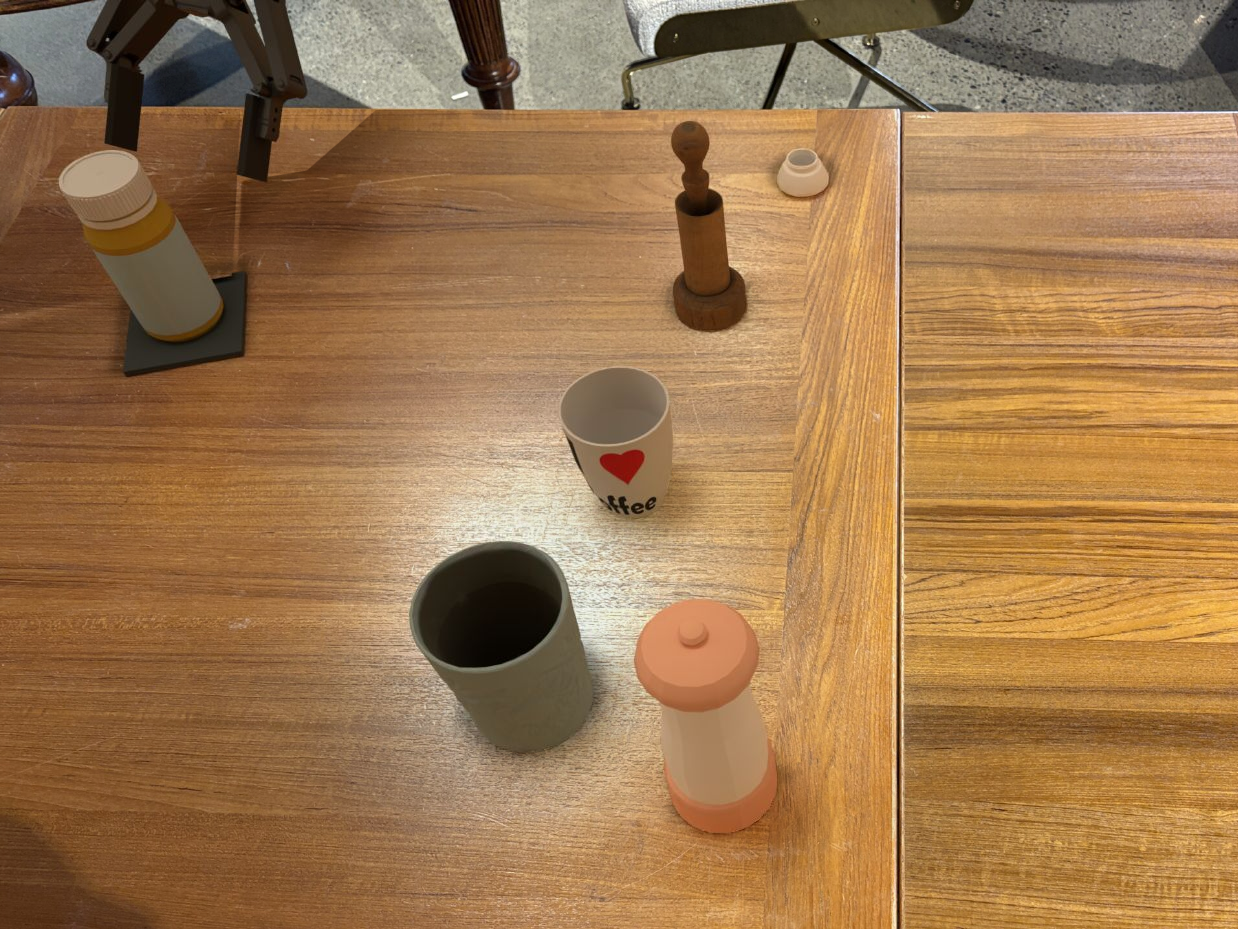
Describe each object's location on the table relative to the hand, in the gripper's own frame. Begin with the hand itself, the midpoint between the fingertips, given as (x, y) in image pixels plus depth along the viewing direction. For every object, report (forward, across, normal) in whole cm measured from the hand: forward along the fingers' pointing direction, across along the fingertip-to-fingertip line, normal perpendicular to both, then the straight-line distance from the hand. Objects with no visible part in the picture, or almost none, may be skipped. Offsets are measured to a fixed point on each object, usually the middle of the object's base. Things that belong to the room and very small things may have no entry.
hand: (185, 163), depth 102 cm
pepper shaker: (+32, +63, -16) cm, 73 cm away
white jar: (-12, +45, +28) cm, 55 cm away
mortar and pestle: (+1, +44, +15) cm, 46 cm away
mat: (+14, 0, +2) cm, 14 cm away
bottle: (+13, 0, +2) cm, 13 cm away
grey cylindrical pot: (+31, +48, -15) cm, 59 cm away
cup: (+17, +47, -1) cm, 50 cm away
